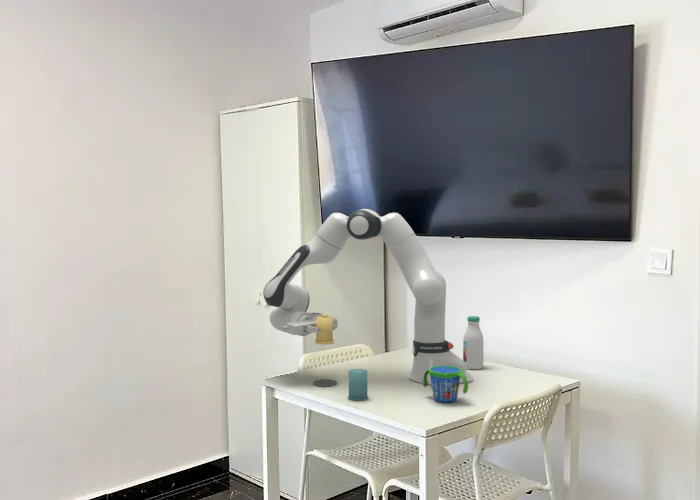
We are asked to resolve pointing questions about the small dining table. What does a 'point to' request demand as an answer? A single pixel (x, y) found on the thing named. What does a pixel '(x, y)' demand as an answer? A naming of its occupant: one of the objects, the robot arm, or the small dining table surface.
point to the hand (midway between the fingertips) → (326, 328)
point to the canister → (357, 385)
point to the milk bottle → (473, 344)
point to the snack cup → (445, 382)
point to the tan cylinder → (324, 330)
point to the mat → (325, 382)
